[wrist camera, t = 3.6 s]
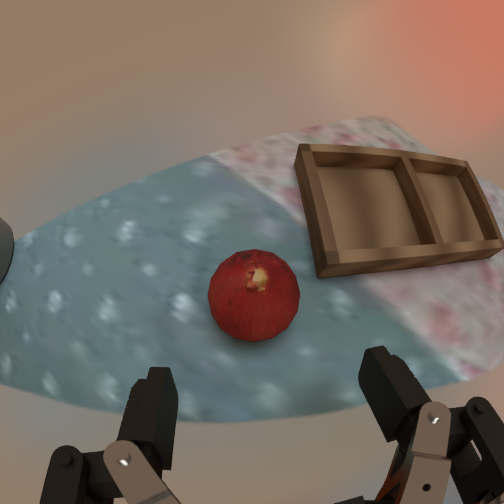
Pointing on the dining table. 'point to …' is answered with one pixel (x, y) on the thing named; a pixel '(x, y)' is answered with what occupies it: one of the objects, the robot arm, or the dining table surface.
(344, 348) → the dining table surface
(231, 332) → the pomegranate
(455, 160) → the walnut tray
